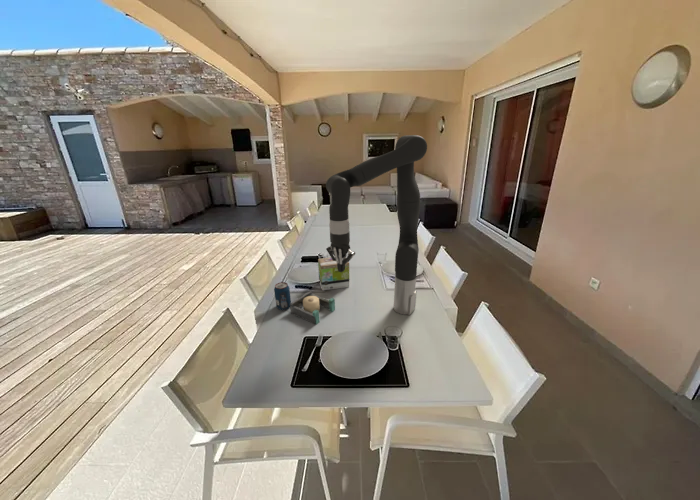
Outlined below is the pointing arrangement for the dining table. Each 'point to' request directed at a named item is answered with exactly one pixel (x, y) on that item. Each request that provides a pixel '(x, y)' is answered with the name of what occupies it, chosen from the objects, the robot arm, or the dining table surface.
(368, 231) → the dining table surface
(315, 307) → the beige round fruit
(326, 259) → the tea box
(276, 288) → the soda can
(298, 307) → the holder
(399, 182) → the robot arm
